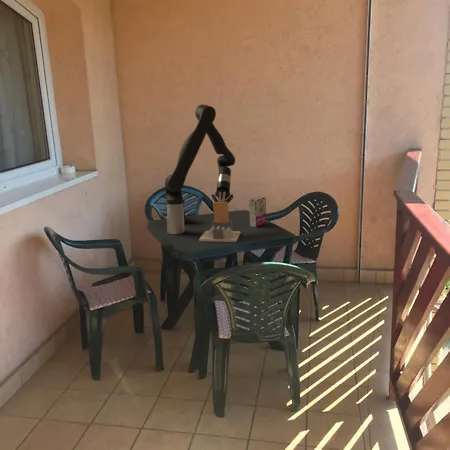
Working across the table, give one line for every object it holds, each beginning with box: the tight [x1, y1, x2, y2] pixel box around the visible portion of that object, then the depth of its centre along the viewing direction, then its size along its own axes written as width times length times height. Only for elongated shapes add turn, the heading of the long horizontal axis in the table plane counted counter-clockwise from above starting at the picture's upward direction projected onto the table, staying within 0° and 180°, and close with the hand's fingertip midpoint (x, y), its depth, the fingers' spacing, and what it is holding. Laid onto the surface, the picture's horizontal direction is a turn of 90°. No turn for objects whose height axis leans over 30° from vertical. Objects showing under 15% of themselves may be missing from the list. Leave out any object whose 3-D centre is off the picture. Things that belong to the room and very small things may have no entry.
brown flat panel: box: [212, 201, 230, 224], centre depth 273 cm, size 8×1×13 cm, turn 81°
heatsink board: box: [198, 219, 241, 243], centre depth 271 cm, size 20×17×8 cm
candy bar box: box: [248, 196, 267, 228], centre depth 294 cm, size 11×5×16 cm, turn 143°
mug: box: [183, 199, 189, 225], centre depth 308 cm, size 18×12×15 cm, turn 16°
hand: (221, 209), depth 273 cm, fingers closed
